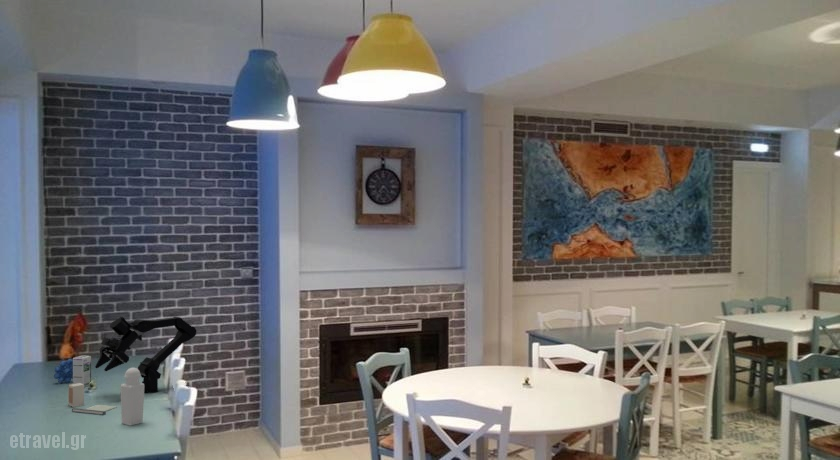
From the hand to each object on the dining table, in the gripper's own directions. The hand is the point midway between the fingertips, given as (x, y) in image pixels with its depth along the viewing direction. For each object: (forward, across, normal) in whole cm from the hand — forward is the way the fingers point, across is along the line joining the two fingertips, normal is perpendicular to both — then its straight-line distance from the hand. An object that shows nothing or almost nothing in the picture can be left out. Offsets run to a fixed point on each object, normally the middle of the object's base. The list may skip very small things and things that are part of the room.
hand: (100, 369), depth 290 cm
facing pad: (+14, +14, +6) cm, 21 cm away
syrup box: (+6, -34, +14) cm, 37 cm away
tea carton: (+17, 0, +3) cm, 17 cm away
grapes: (+7, -46, +13) cm, 49 cm away
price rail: (+18, +16, +2) cm, 24 cm away
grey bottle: (+14, +43, +6) cm, 45 cm away
